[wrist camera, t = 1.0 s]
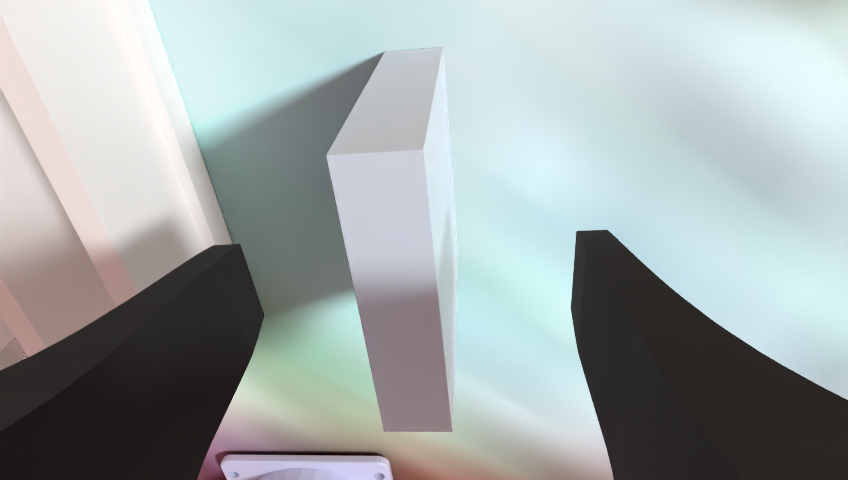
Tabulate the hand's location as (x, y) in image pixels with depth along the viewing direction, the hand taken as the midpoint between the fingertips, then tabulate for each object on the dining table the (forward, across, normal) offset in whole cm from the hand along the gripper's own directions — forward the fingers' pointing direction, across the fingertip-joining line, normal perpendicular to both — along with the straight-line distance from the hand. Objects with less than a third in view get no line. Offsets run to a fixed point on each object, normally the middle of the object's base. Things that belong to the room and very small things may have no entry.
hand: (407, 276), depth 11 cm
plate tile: (+6, 0, 0) cm, 6 cm away
